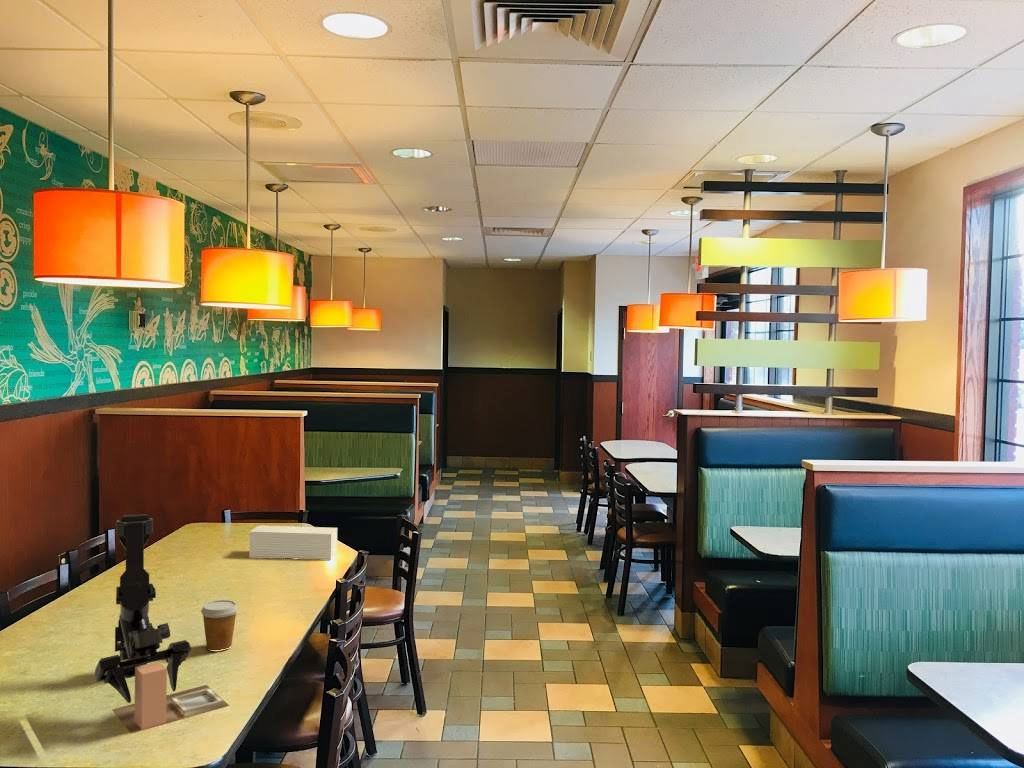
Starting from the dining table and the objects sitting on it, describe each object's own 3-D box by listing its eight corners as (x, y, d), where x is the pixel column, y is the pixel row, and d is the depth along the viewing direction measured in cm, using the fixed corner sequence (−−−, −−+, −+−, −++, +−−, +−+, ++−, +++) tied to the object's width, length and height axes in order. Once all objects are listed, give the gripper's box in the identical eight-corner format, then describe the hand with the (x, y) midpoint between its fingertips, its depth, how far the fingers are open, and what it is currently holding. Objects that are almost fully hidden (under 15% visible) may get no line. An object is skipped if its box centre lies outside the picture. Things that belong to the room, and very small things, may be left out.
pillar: (134, 721, 170) (135, 666, 170) (158, 714, 174) (159, 661, 173) (141, 729, 167) (142, 674, 166) (166, 723, 170) (166, 668, 170)
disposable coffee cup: (241, 641, 220) (242, 599, 220) (230, 654, 211) (231, 610, 210) (207, 641, 220) (208, 598, 220) (195, 654, 211) (195, 610, 210)
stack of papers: (336, 554, 317) (337, 527, 317) (330, 561, 307) (331, 533, 306) (257, 551, 317) (258, 525, 317) (249, 558, 307) (249, 531, 306)
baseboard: (112, 713, 176) (112, 704, 175) (206, 688, 190) (206, 680, 190) (131, 737, 165) (131, 727, 165) (229, 709, 179) (229, 700, 179)
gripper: (99, 621, 166) (113, 690, 158) (188, 604, 179) (206, 668, 171) (88, 647, 172) (102, 714, 164) (176, 629, 185) (192, 691, 177)
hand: (152, 696), depth 169 cm, fingers open, 9 cm apart
